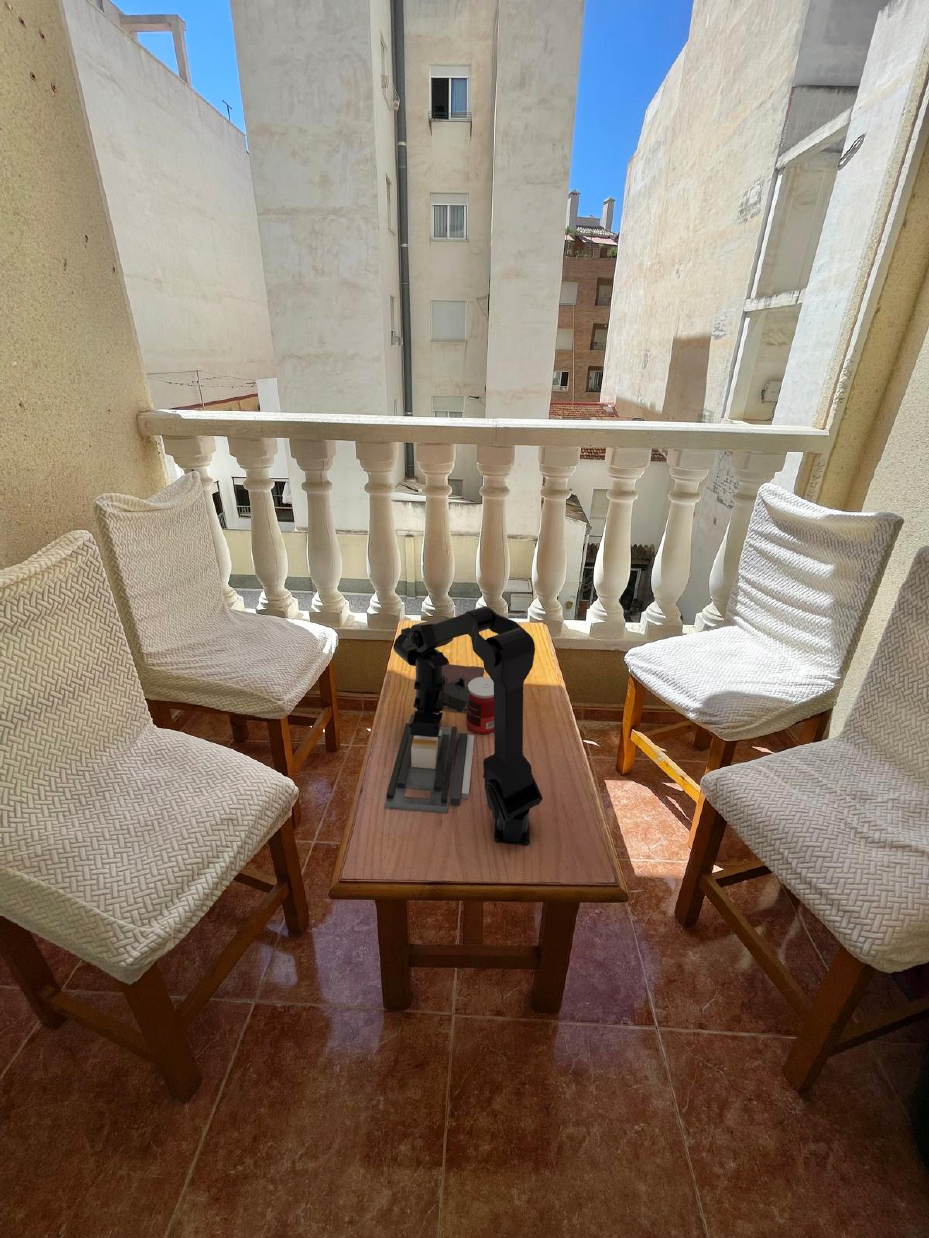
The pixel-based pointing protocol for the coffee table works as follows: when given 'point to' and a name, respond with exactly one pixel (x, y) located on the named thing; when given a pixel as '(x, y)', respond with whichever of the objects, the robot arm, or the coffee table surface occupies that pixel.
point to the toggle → (424, 752)
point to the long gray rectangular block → (462, 769)
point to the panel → (422, 775)
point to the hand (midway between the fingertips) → (429, 734)
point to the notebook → (461, 671)
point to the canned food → (481, 705)
